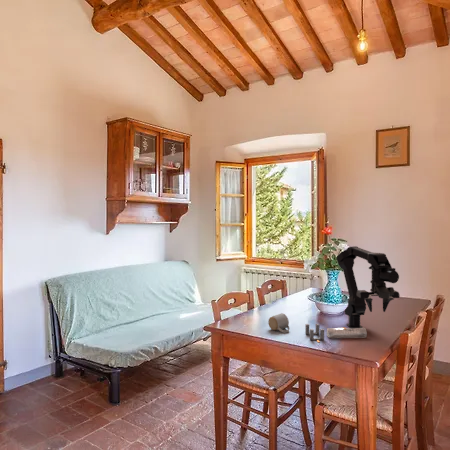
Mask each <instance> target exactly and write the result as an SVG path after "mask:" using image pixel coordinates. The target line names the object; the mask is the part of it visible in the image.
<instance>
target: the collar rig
mask: <svg viewBox="0 0 450 450" xmlns="http://www.w3.org/2000/svg"><path fill="white" fill-rule="evenodd" d="M304 329H305V332H304V334H305V335H306V336H309V341H311V342H312V341H313V342H315V341H316V342H317V343H321V341H325V329H324V328H320V323H315V329H313V328H310V323H305V328H304ZM314 336H319V337H314Z"/></svg>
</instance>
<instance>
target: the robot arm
mask: <svg viewBox="0 0 450 450" xmlns="http://www.w3.org/2000/svg"><path fill="white" fill-rule="evenodd" d="M357 258H360V259H363V260H364V261H365V260H366V262H367V263H368V264H370V266H369V267H368V269H369V270H371V280H370V283H371V288H370V291H367V290H365V289H362V290H361V289H359V288H358V284H357V281H356V276H355V273H354V265H355V259H357ZM336 261H337V263H338V267H340V268H341V270H342V271H343V272H342V273H343V276H344V279H345V283H346V287H347V291H348V296H349V298H348V300H347V307H346V308H345V309H344V314H345V315H346V316H348V323H346V324H345V325H346V326H348V328H364V326H362V325H361V316H364V315H365V314H366V309H367V307H368V310H369V312H370V313H372V312H373V298H372V297H378V298H380V299H382V311H383V313H386V311H387V308H388V306H389V304H390V303H391V301H393V300H394V299H400V292H399V291H397V290H395V288H394V287H393V286H389V287H387V284H386V283H390V284H396V283H397V282H398V281H399V279H400V275H399V273H398V271H396V268H395V267H392V265H391V263H390V261H389V259H388V257H387V255H386V254H385V253H383V252H372V251H369V250H366V249H364V248H361V247H358V246H356V245H355V246H354V245H353V246H349V247H347V248H346V249H344V250H343V251H341V252H339V253H338V254H337V257H336Z"/></svg>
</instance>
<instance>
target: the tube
mask: <svg viewBox="0 0 450 450" xmlns="http://www.w3.org/2000/svg"><path fill="white" fill-rule="evenodd" d="M367 331H368V330H367V329H366V327H363V328H350V327H345V326H343V327H335V328H334V327H327V328H326V336H327V338H328V339H355V338H356V339H360V338H361V339H364V338H365V339H366V338H367V337H368V332H367Z"/></svg>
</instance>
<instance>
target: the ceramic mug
mask: <svg viewBox="0 0 450 450" xmlns="http://www.w3.org/2000/svg"><path fill="white" fill-rule="evenodd" d="M289 323H290V322H289V318H288V316H287V315H286V313H282V312H281V313H278V314H275V315H271V317H269V318H268V326H269V328H270V330H272V331H280V332H281V333H284V334H286V333H290V332H289V331H290V326H289Z"/></svg>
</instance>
